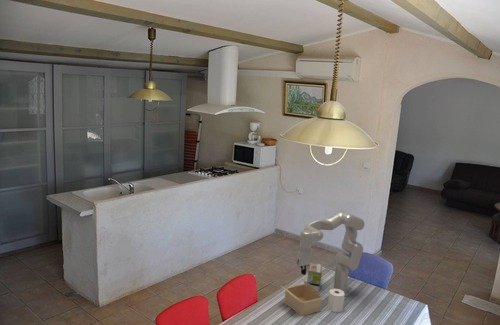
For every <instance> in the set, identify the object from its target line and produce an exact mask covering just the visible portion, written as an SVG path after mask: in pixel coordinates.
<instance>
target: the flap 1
mask: <svg viewBox="0 0 500 325" xmlns="http://www.w3.org/2000/svg"><path fill="white" fill-rule="evenodd" d="M280 287H281V288H282V289H283V290H286V291H287V292H288V293H290V292H289V291H288V290H287V289H286V288H287V287H286V288H285V287H284V286H282V285H280ZM290 294H291V295H292V296H293V297H294V298H295V299H297V300H299V299H298V298H296V297H295V296H294V295H293V294H292V293H290ZM299 301H300V300H299ZM300 302H301V301H300Z"/></svg>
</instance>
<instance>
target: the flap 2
mask: <svg viewBox="0 0 500 325" xmlns="http://www.w3.org/2000/svg"><path fill="white" fill-rule="evenodd" d="M301 280H302V281H303V284H305V285H306V286H308V287H309V288H311V290H313V291H314V292H315V293H316V294H318V295H319V296H320V297H322V295H321V293H320V290H317V289H315V288H314V287H313V286H311V285H310V284H309V283H307V281H306V280H305V279H302V278H301Z"/></svg>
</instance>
